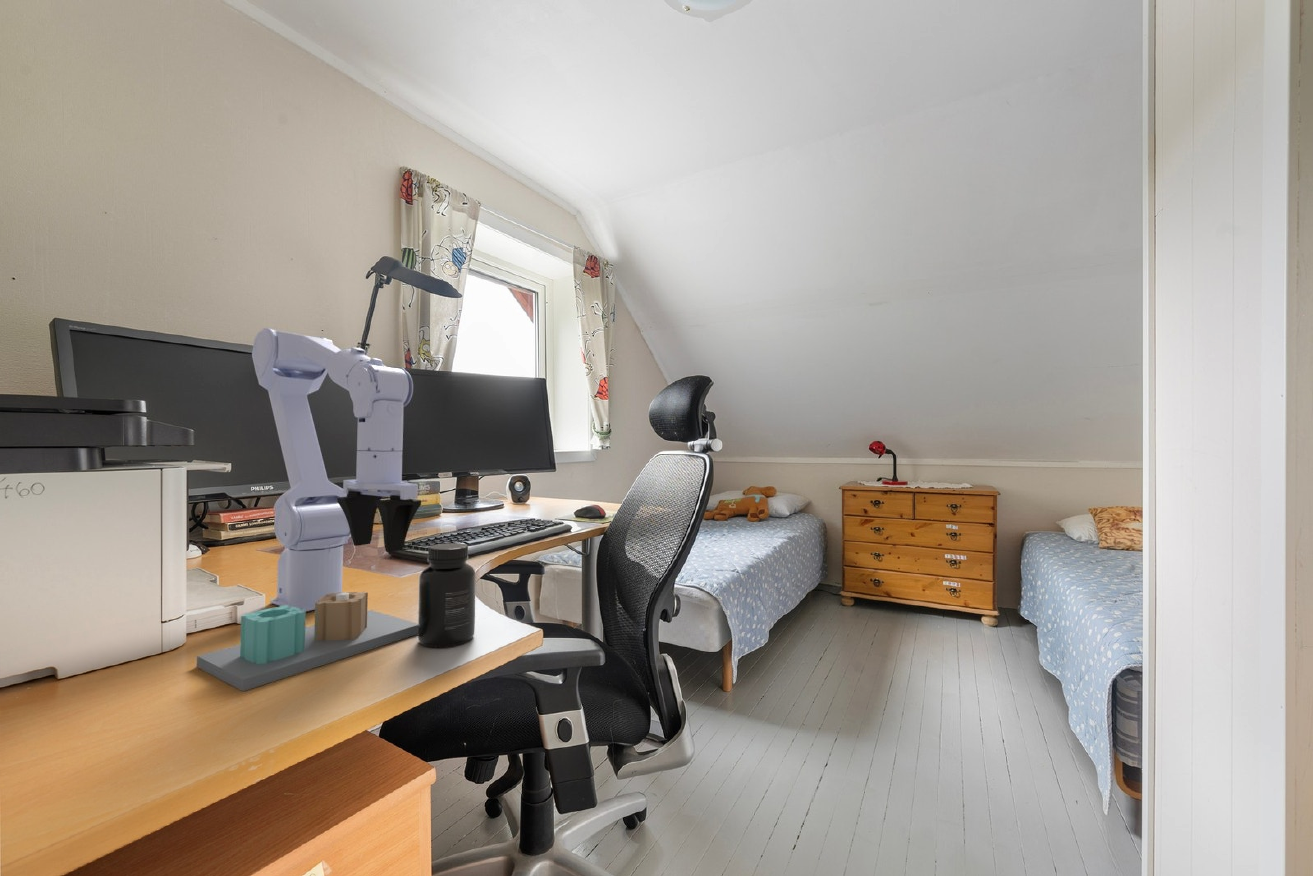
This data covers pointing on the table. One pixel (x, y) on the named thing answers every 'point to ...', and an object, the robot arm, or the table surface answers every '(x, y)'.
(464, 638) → the supplement bottle
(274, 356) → the robot arm
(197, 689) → the table surface
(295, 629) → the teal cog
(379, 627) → the gear board
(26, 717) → the table surface
